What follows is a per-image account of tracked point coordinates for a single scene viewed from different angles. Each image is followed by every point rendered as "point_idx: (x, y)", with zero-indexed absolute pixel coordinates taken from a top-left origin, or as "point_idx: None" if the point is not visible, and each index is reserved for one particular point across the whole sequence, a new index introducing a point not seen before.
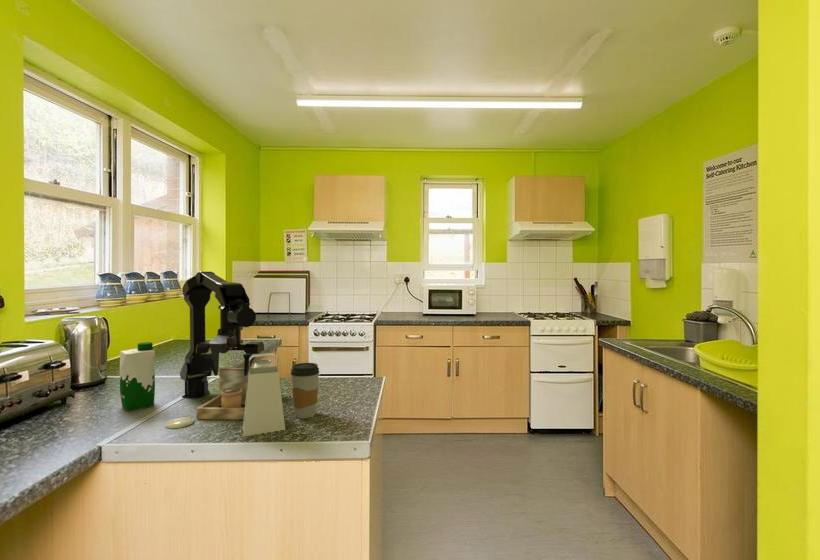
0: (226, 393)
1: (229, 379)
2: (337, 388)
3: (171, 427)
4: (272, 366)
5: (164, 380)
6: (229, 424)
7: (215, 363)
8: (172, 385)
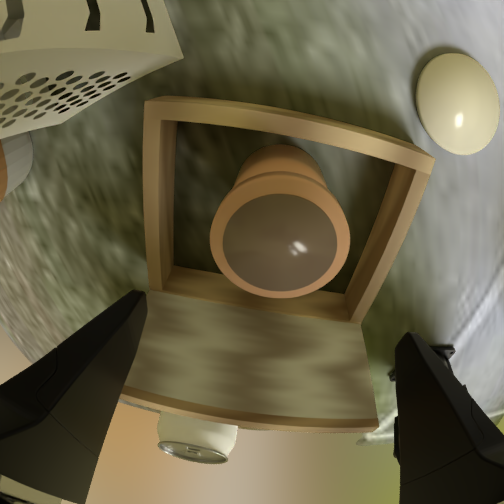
0: (295, 180)
1: (325, 377)
2: (53, 341)
3: (472, 59)
4: (157, 428)
5: None
6: (241, 39)
7: (433, 427)
8: None
